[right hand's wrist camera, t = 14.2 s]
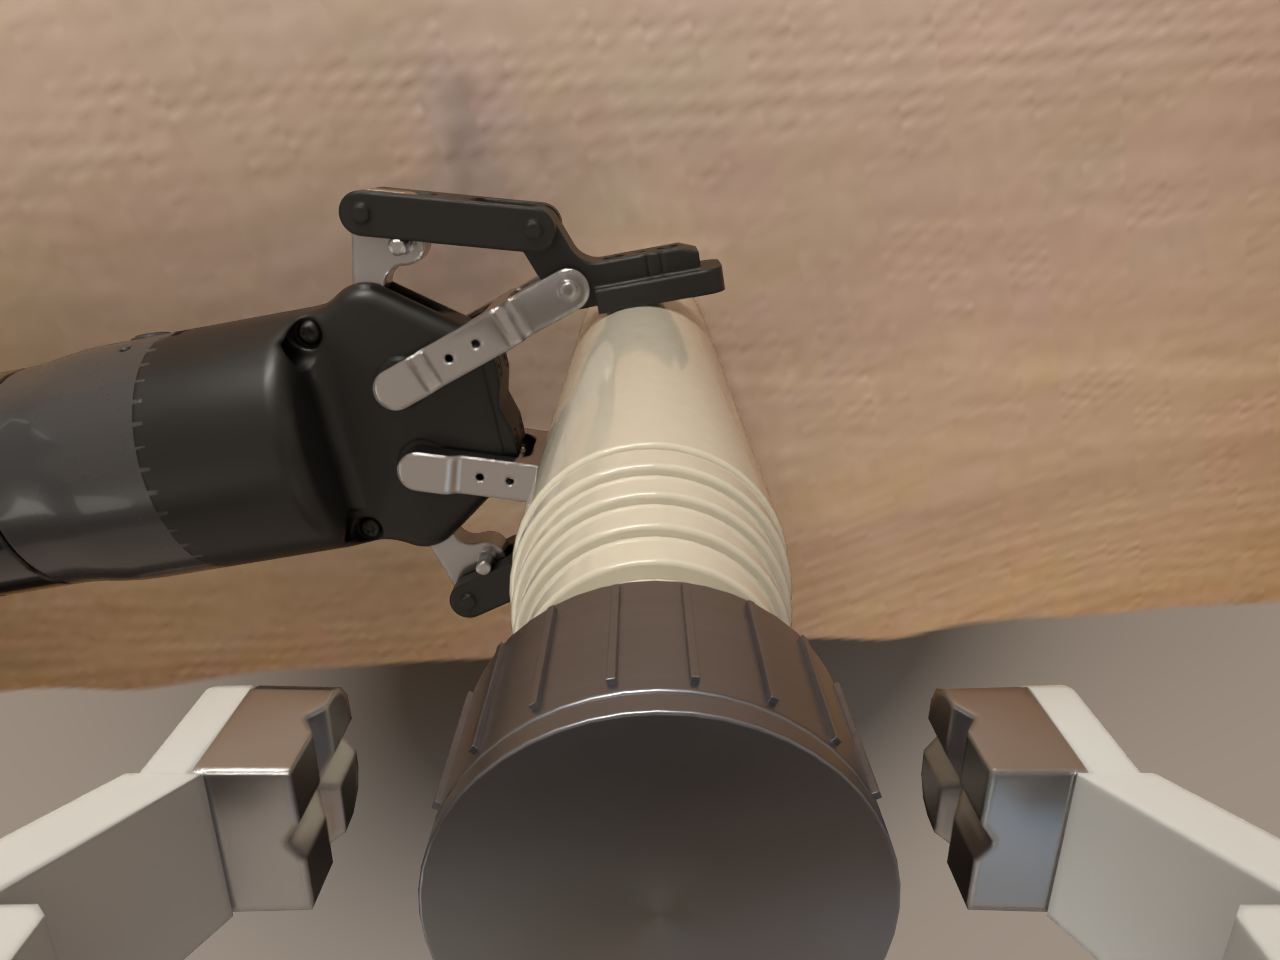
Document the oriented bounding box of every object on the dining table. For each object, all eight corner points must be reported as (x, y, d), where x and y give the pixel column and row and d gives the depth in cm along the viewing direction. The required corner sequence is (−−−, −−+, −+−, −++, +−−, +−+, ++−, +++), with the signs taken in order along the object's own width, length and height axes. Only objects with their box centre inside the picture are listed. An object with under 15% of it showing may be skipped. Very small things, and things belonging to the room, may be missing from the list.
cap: (531, 928, 11) (505, 1120, 9) (402, 630, 10) (332, 776, 8) (879, 852, 11) (941, 1035, 9) (802, 529, 9) (853, 651, 7)
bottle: (560, 309, 33) (327, 798, 8) (668, 249, 32) (769, 590, 7) (619, 413, 34) (573, 1094, 10) (725, 357, 33) (964, 943, 9)
